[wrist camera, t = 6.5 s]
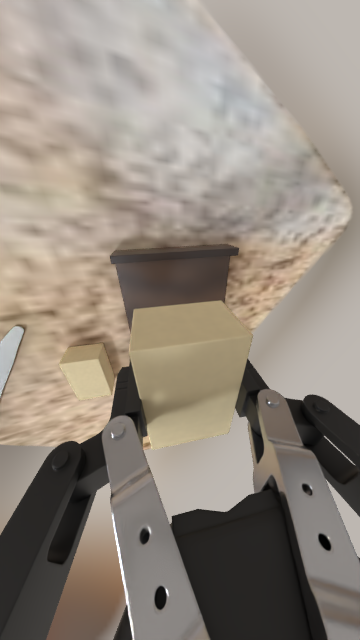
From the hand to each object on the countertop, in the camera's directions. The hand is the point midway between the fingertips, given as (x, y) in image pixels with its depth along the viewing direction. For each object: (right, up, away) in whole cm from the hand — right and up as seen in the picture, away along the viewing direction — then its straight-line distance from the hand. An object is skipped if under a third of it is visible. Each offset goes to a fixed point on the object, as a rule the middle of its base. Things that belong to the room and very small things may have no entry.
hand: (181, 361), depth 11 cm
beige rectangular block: (0, 0, 0) cm, 0 cm away
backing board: (-1, +4, +14) cm, 15 cm away
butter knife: (-29, -8, +16) cm, 34 cm away
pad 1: (-14, -4, +17) cm, 22 cm away
